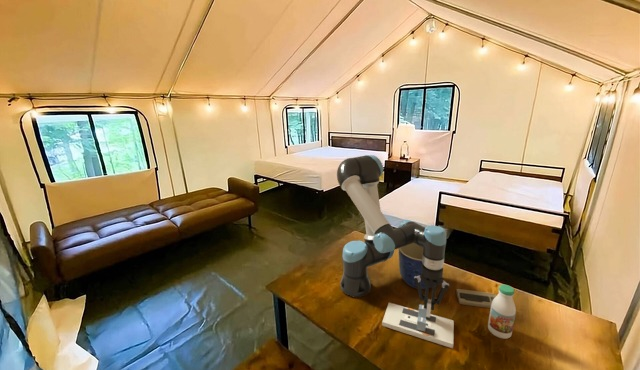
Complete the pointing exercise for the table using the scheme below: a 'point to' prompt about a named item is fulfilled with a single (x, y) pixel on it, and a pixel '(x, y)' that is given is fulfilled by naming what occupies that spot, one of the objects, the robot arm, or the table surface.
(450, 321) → the switch board
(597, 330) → the table surface
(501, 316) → the milk bottle
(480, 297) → the computer
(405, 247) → the planter
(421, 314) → the tab far
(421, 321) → the tab near
